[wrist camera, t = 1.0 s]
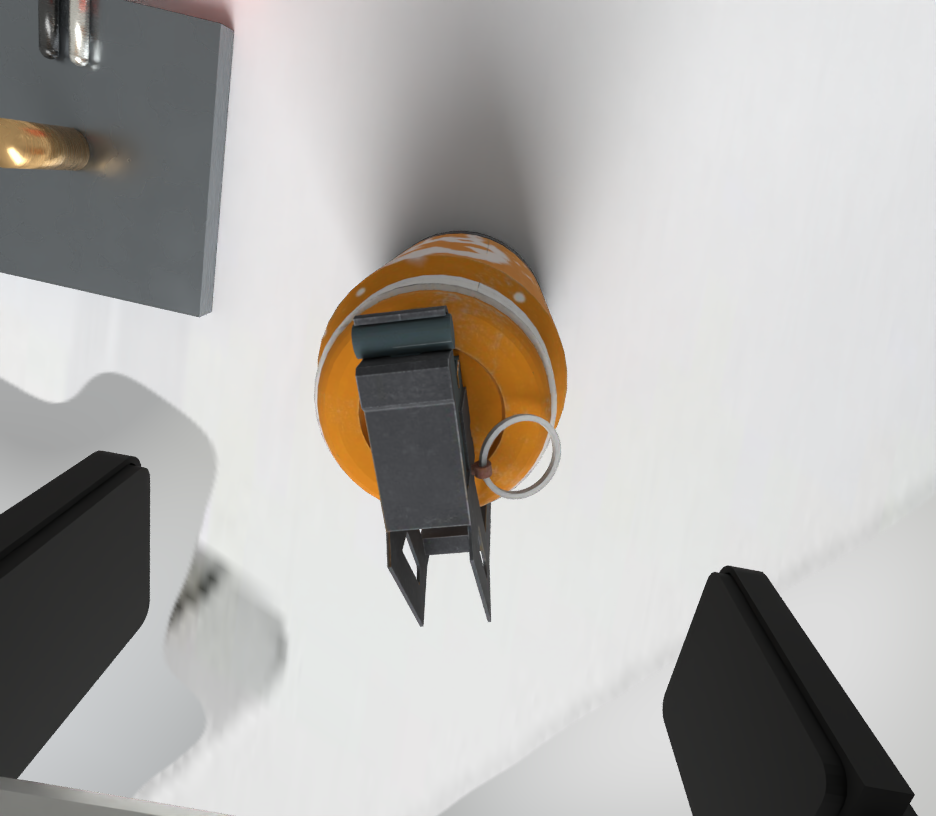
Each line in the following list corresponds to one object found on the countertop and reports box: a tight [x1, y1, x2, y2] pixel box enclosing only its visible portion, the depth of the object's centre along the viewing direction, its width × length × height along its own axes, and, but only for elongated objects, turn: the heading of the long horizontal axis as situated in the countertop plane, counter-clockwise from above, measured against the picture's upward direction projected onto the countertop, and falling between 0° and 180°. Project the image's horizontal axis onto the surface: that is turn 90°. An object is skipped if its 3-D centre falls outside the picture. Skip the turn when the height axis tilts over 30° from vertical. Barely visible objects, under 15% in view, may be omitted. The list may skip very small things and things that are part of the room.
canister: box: [314, 231, 567, 627], centre depth 25 cm, size 9×11×20 cm
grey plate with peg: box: [0, 0, 234, 317], centre depth 29 cm, size 15×14×6 cm
